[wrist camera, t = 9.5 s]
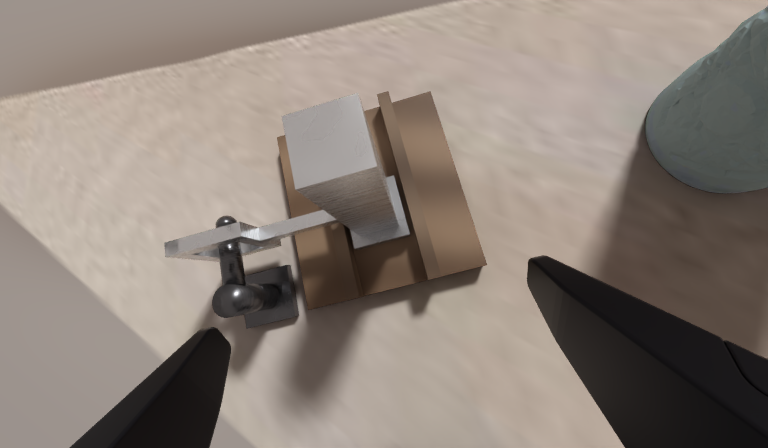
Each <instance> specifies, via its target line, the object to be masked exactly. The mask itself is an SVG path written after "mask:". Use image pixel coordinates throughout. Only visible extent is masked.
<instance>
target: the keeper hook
mask: <svg viewBox="0 0 768 448" xmlns="http://www.w3.org/2000/svg"><path fill="white" fill-rule="evenodd" d="M233 223H237V221H236V220H235V219H234V218H233V217H231V216H223V217H221V218H219V219H218V220H217V222H216V228H219V227H222V226H226V225H230V224H233ZM218 250H219V259H220V267H221V276H222V284H223V286H222V287H220V288H219V289H218V290H217V291H216V292H215V294H214V296H213V300H212V305H213V309H214V311H215V313H216V314H217V315H218V316H220V317H223V318H228V317H233V316H238V315H243V314H245V320H246V328H251V327H255V326H259V325H263V324H267V323H271V322H275V321H279V320H283V319H287V318H291V317H295V316H298V315H299V312H298V306H297V300H296V295H295V289H294V283H293V277H292V271H291V266H290V265H285V266H281V267H277V268H274V269H270V270H266V271H262V272H259V273H255V274H251V275H247V276H245V274H244V267H243V260H242V252H241V245H240V242H235V243H231V244H227V245H224V246H220V247H218Z"/></svg>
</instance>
